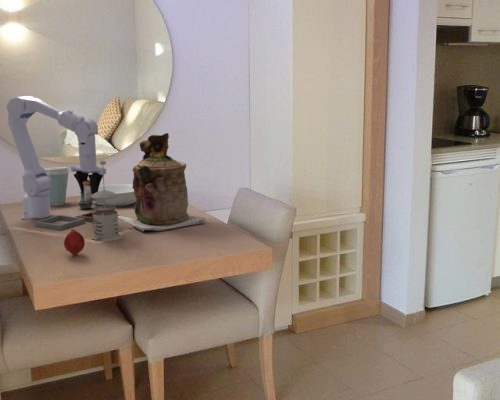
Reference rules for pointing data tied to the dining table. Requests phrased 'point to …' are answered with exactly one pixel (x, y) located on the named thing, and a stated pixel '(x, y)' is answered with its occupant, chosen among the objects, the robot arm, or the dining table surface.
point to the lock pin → (87, 190)
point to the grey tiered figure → (84, 202)
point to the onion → (74, 242)
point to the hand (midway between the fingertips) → (89, 193)
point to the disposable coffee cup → (58, 184)
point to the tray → (47, 222)
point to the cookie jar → (160, 189)
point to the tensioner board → (88, 216)
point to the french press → (105, 216)
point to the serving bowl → (118, 195)
